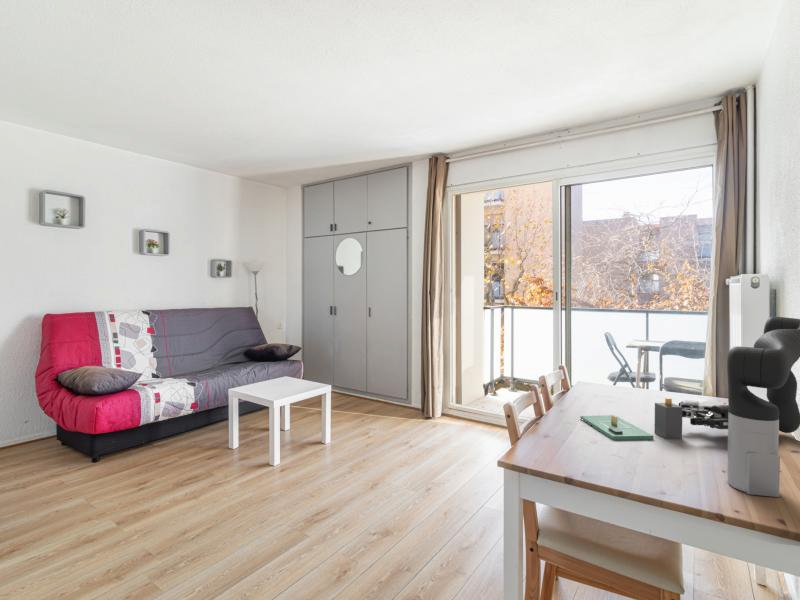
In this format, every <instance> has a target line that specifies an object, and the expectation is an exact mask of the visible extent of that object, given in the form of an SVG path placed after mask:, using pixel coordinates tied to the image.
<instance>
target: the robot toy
mask: <svg viewBox="0 0 800 600" xmlns="http://www.w3.org/2000/svg"><path fill="white" fill-rule="evenodd" d="M714 405H727V402H721V401H720V402H719V401H710V400H709V401H708V400H707V401H701V402H699V401H698V400H690V399H688V400H684V401H680V402H678V406H681V407H682V408H699V410H702V409H703V410H709V409H710V408H711V407H712V406H714Z"/></svg>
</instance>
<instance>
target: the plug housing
mask: <svg viewBox="0 0 800 600" xmlns="http://www.w3.org/2000/svg"><path fill="white" fill-rule="evenodd" d="M672 400H673V399H672V398H670V397H665V398H664V402H655V403H654V434H655V435H657V436H660V437H661V438H663V439H664V440H665V439H666V440H668V439H670V440H671V439H675V440H676V439H678V440H679V439H681V440H682V438H683V417H682V407H681V406H679V404H675V403H673V401H672Z"/></svg>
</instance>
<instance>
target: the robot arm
mask: <svg viewBox="0 0 800 600" xmlns="http://www.w3.org/2000/svg"><path fill="white" fill-rule="evenodd" d="M799 359H800V318H796V317H795V318H794V317H783V316H770V317H769V318H768V319H767V320H766V322H765V324H764V329H763V334H762V335H761V336H759V337H758V338H757V340H756V341H755V342H754V345H753V347H752V346H750V347H749V346H733V347H731V348H730V349H729V352H728V353H727V360H726V371H727V372H726V373H727V390H728V391H727V392H728V394H727V396H728V398H727V401H728V402H727V403H728V404H724V405H714V406H712V407H711V408H710V409H709V410H703V409H702V410H699V408H682V418H688V419H689V421H690V423H689V424H690V425H692V426H704V427H710V429H717V430H727V477H726V478H727V484H728V485H729V486H731V487H733V489H734V488H735V489H737V490H739V491H742V492H744V493H746V495H750V496H751V495H752V496H765V497H772V498H773V497H775V498H779V497H780V478H781V477H780V476H781V473H780V471H781V466H780V465H781V456H780V455H779V439H780V437H779V435H780V434H779V431H780V432H781V433H784V434H791V433H794V432H796V431H797V430H798V429H799V428H800V408H799V405H798V402H797V391H798V381H797V378H796V376H795V374H794V373H793V371H792V367H794V365H795V363H797V362H798V360H799ZM748 387H753V388H759V389H760V388H761V389H766V398H767V400H766V399H763V398H761V397H759V396H757V395H756V394H754V393H753V392H752V391H750V389H749V388H748Z"/></svg>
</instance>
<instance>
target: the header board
mask: <svg viewBox="0 0 800 600" xmlns="http://www.w3.org/2000/svg"><path fill="white" fill-rule="evenodd" d="M580 418H581V419H583V420H584V421H586V422H587V423H588V424H587V423H586V422H585V423H586V424H587V425H589V424H590V425H592V426H593V427H594V429H595V428H596V429H595V430H597V431H598V432H600V433H601V434H602V435H605V436H606V437H607V438H609V439H611V440H612V441H634V440H635V441H637V440H638V441H640V440H641V441H645V440H649V441H650V440H653V441H654V435H653V434H651V433H649V432H647V431H646V430H644V429H641V428H640V427H638V426H636V425H634V424H632V423H631V422H628V421H627V420H624V419H623V418H621V417H619V416H617V415H614V414H611V415H580V417H579V419H580ZM581 419H580V420H581ZM583 420H582V421H583ZM584 421H583V422H584ZM590 425H589V426H590ZM592 426H591V427H592ZM593 427H592V428H593Z"/></svg>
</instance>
